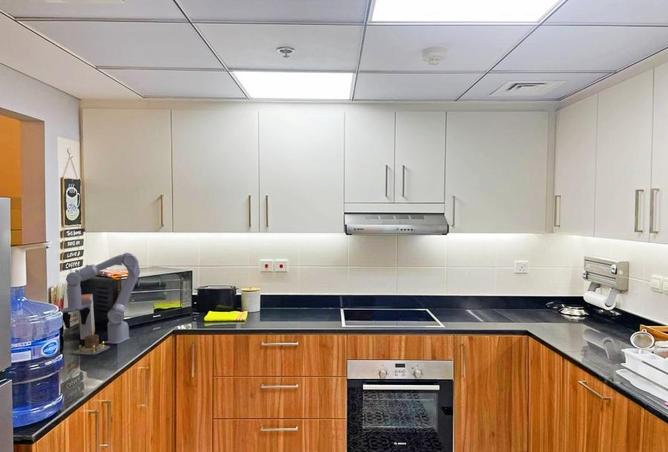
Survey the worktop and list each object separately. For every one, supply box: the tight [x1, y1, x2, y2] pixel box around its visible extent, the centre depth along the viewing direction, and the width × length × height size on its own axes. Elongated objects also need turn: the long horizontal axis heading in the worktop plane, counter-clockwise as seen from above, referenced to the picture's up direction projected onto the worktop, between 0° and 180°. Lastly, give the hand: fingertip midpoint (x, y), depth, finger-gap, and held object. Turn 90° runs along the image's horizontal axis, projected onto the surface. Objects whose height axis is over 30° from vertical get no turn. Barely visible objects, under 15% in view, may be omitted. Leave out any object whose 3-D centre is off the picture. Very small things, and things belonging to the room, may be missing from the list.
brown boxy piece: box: [81, 334, 105, 352], centre depth 207 cm, size 8×9×6 cm
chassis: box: [73, 341, 111, 356], centre depth 207 cm, size 10×11×4 cm
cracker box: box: [77, 293, 96, 340], centre depth 233 cm, size 14×6×21 cm, turn 23°
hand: (75, 326), depth 213 cm, fingers open, 7 cm apart
